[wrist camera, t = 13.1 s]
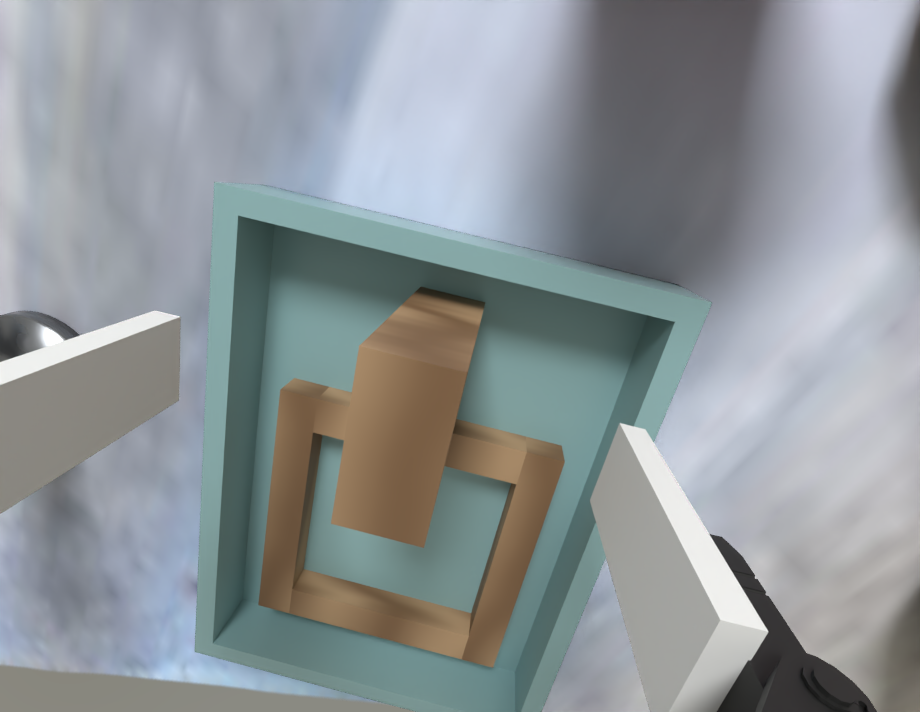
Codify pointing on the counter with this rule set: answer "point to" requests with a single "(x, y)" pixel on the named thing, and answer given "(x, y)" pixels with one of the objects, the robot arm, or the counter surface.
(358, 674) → the tray
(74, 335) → the grey metal stand
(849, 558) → the counter surface
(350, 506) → the ring
